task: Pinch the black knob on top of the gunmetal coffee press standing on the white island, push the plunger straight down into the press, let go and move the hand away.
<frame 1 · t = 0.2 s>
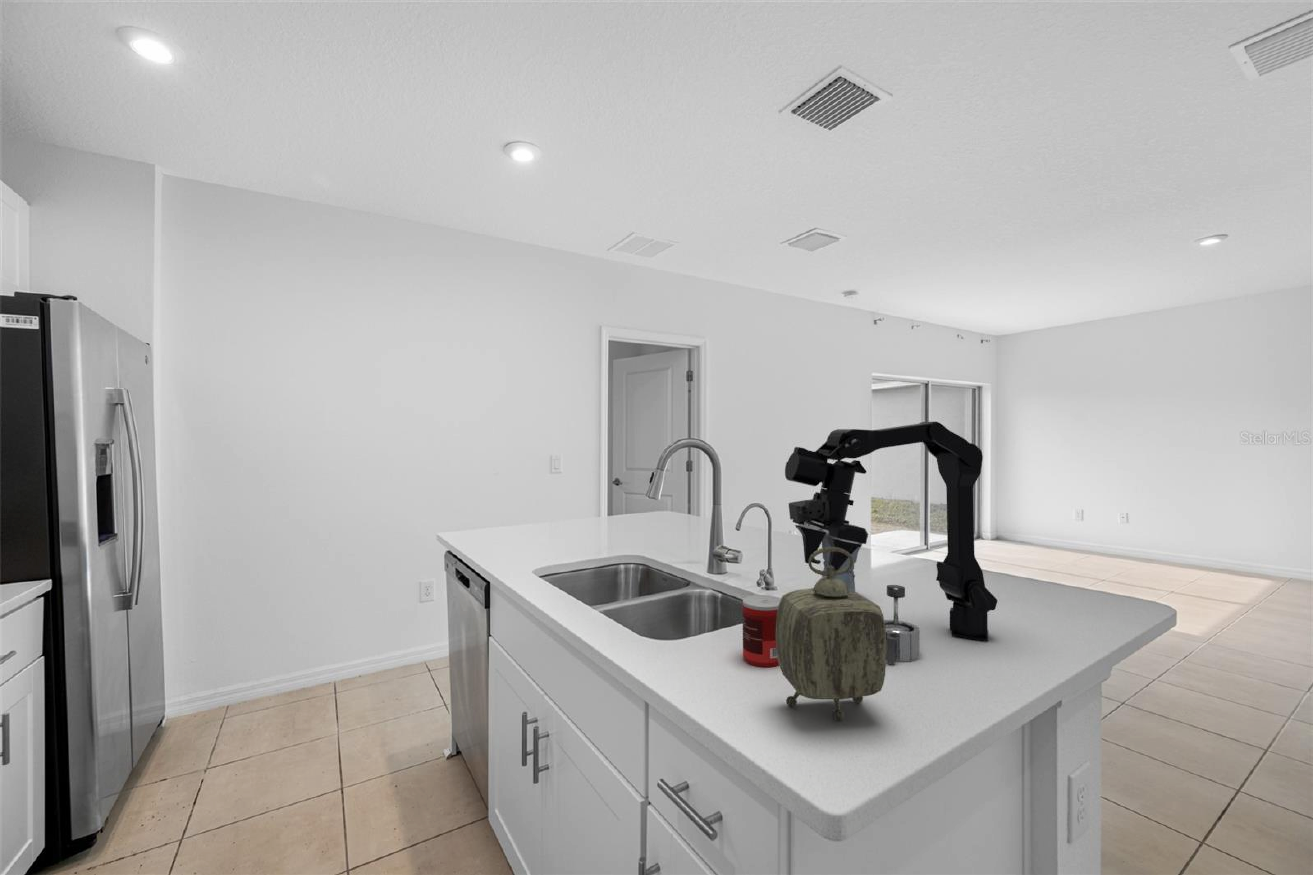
hand: (818, 568, 115), 15 cm above the worktop, tool pointing down, fingers open, 9 cm apart
tabletop clock: (832, 715, 87), on the worktop
press carafe: (895, 653, 111), on the worktop
moka pot: (835, 600, 146), on the worktop
plunger: (895, 609, 111), point 8 cm above the worktop, slide at 0.0 cm
canned food: (763, 660, 108), on the worktop
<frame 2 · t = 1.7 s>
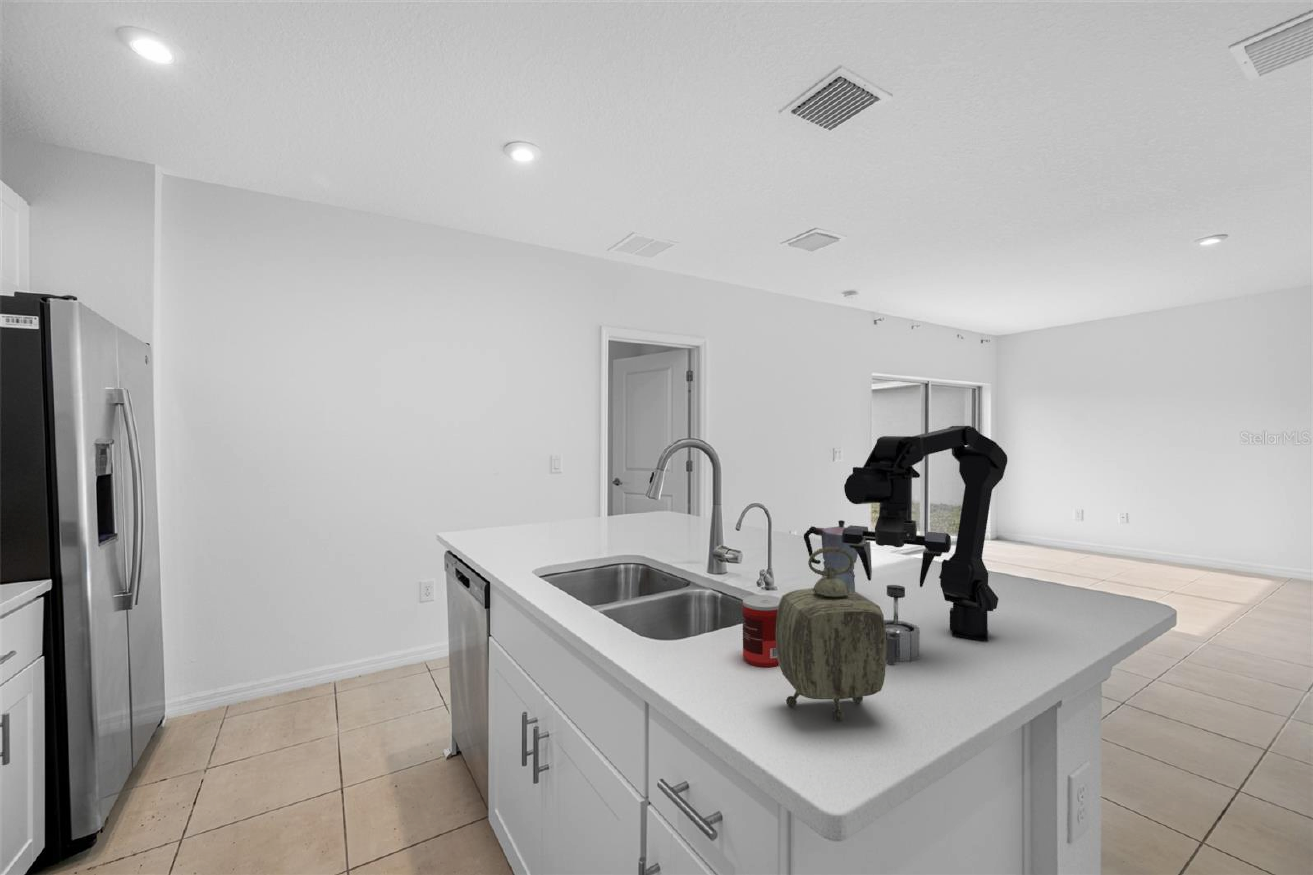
hand: (894, 583, 111), 13 cm above the worktop, tool pointing down, fingers open, 9 cm apart
nothing on the worktop moved.
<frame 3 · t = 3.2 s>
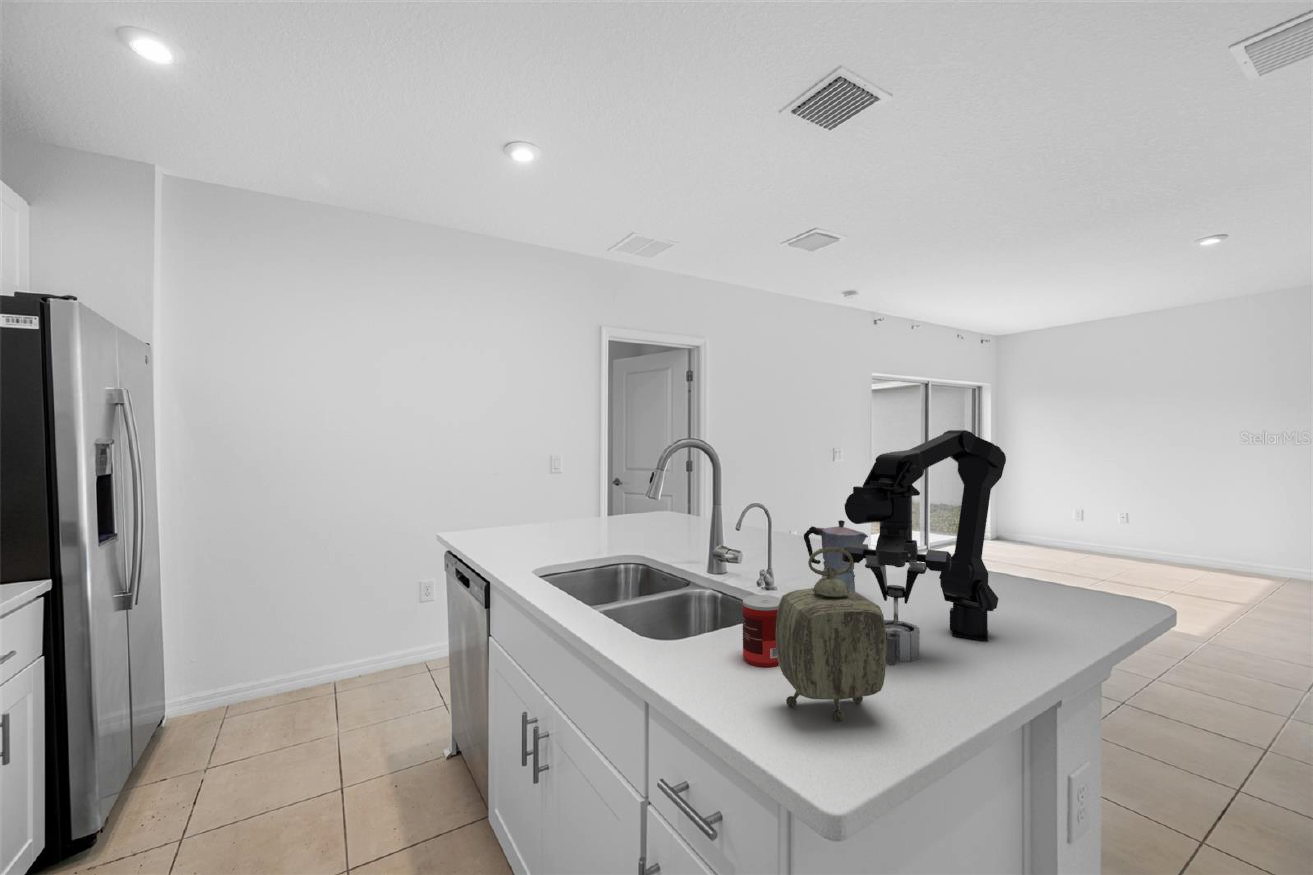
hand: (895, 601, 111), 10 cm above the worktop, tool pointing down, fingers closed on plunger, 3 cm apart
plunger: (895, 609, 111), point 8 cm above the worktop, slide at 0.0 cm, touching gripper
everything else where it was.
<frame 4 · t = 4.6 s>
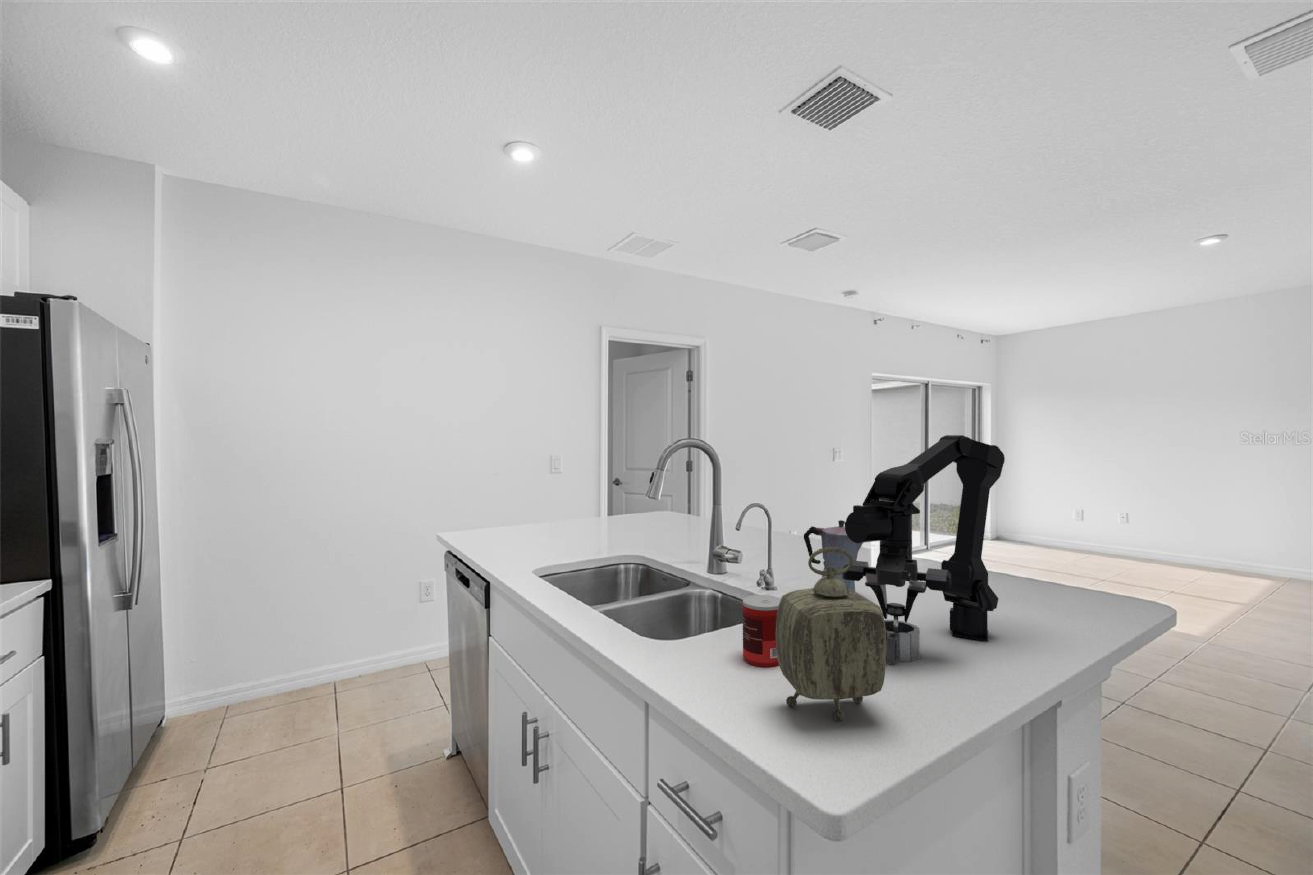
hand: (895, 620, 111), 6 cm above the worktop, tool pointing down, fingers closed on plunger, 3 cm apart
plunger: (895, 627, 111), point 5 cm above the worktop, slide at 3.5 cm, touching gripper
everything else where it was.
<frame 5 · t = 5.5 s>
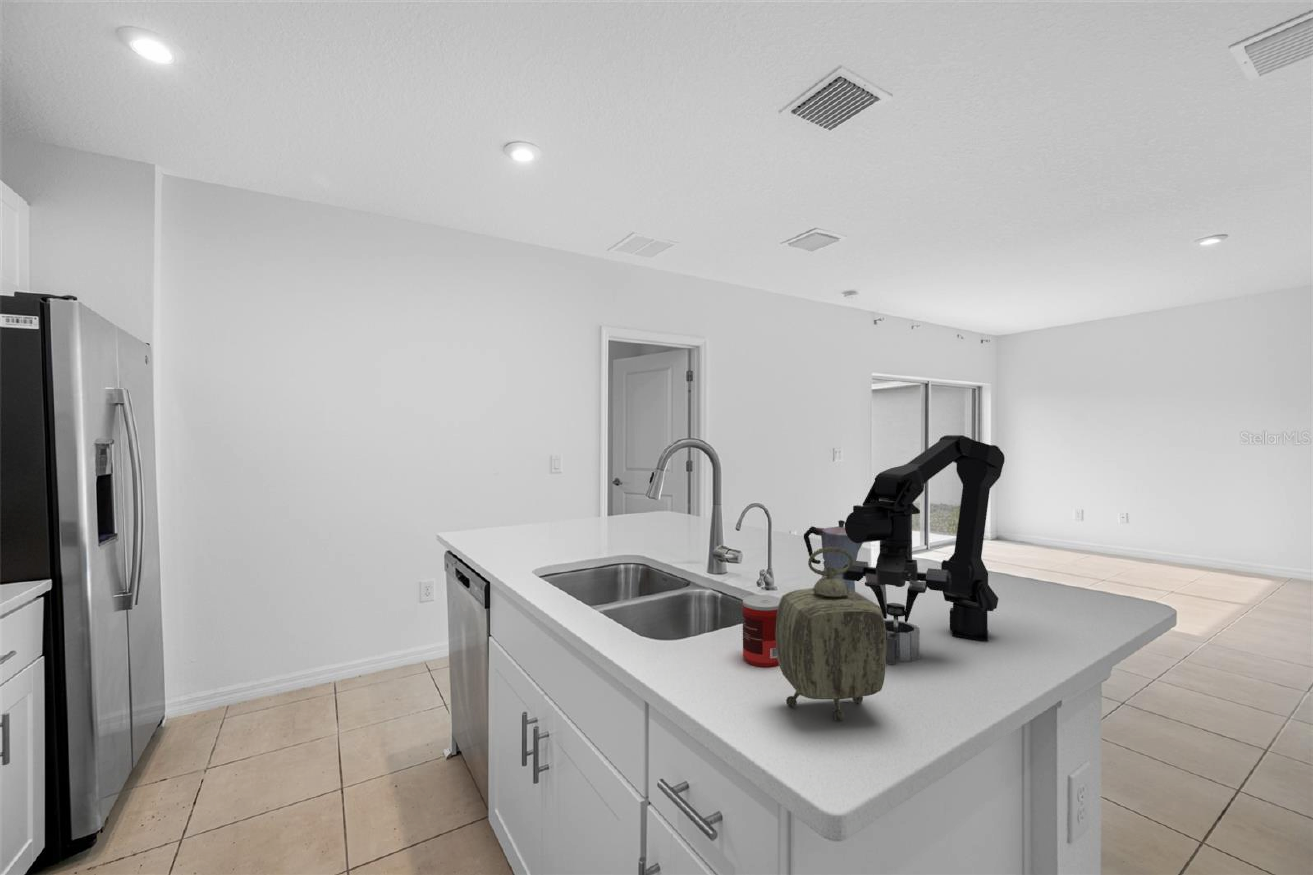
hand: (895, 620, 111), 6 cm above the worktop, tool pointing down, fingers open, 3 cm apart
plunger: (895, 627, 111), point 5 cm above the worktop, slide at 3.5 cm
everything else where it was.
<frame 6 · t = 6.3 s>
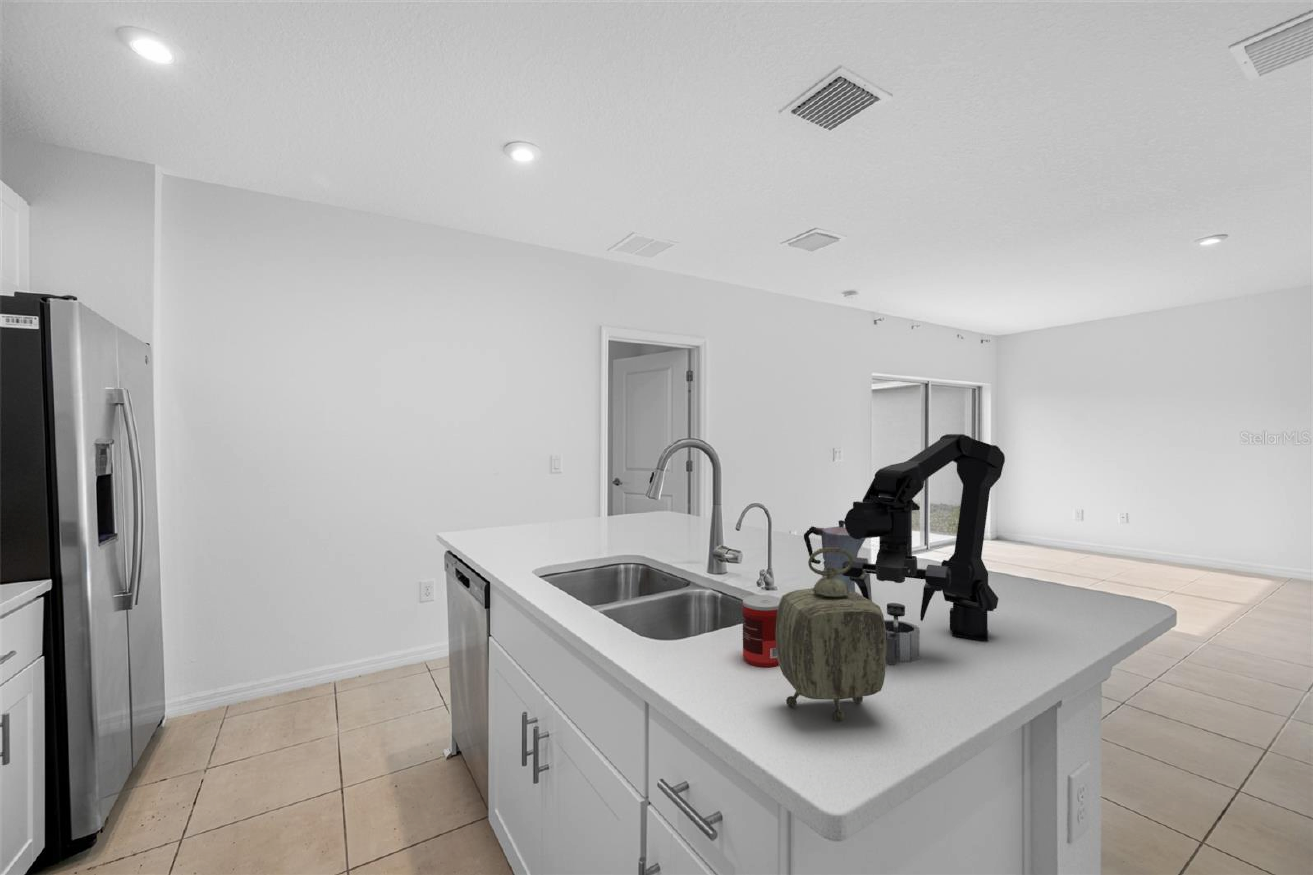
hand: (895, 616, 111), 7 cm above the worktop, tool pointing down, fingers open, 9 cm apart
nothing on the worktop moved.
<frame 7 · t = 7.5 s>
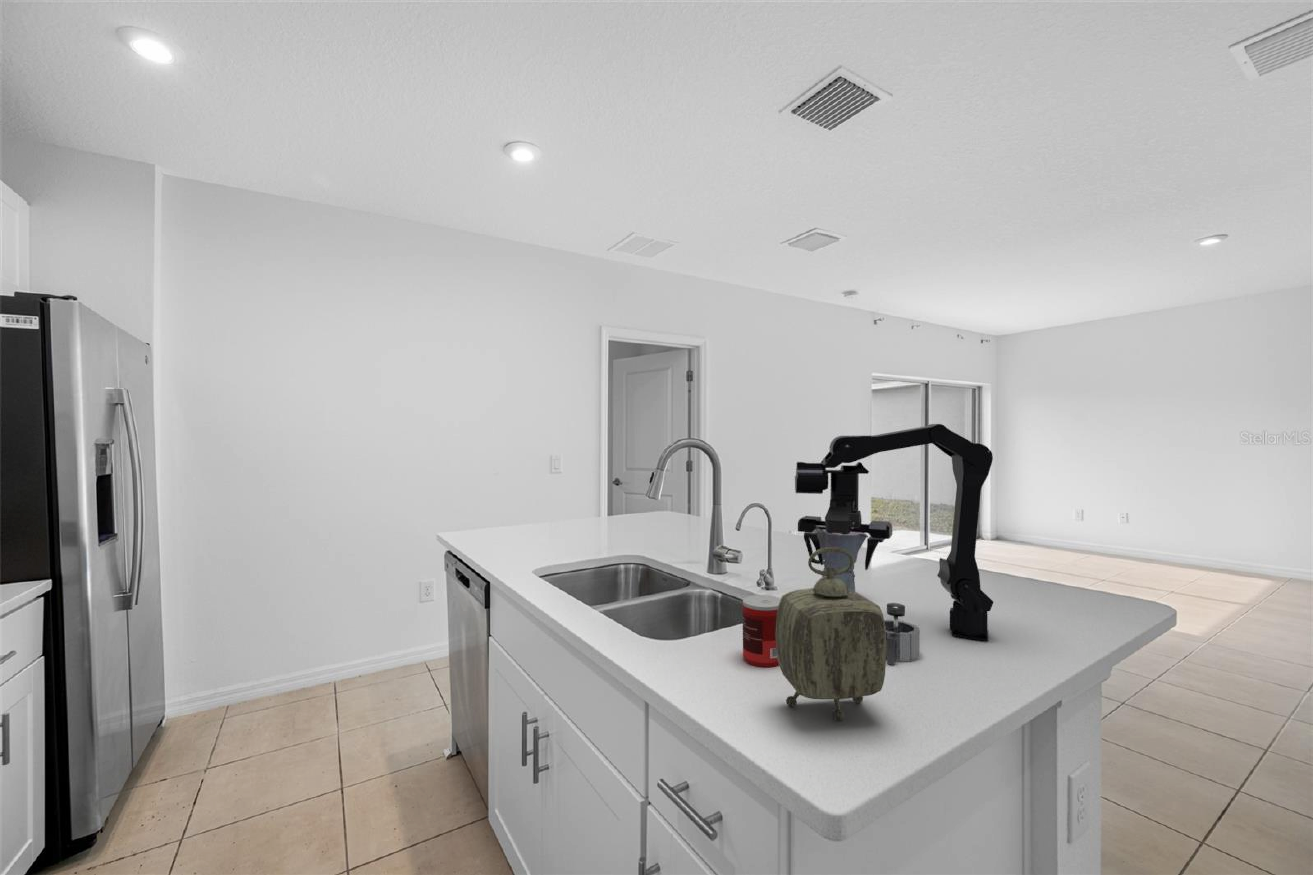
hand: (843, 567, 125), 13 cm above the worktop, tool pointing down, fingers open, 9 cm apart
nothing on the worktop moved.
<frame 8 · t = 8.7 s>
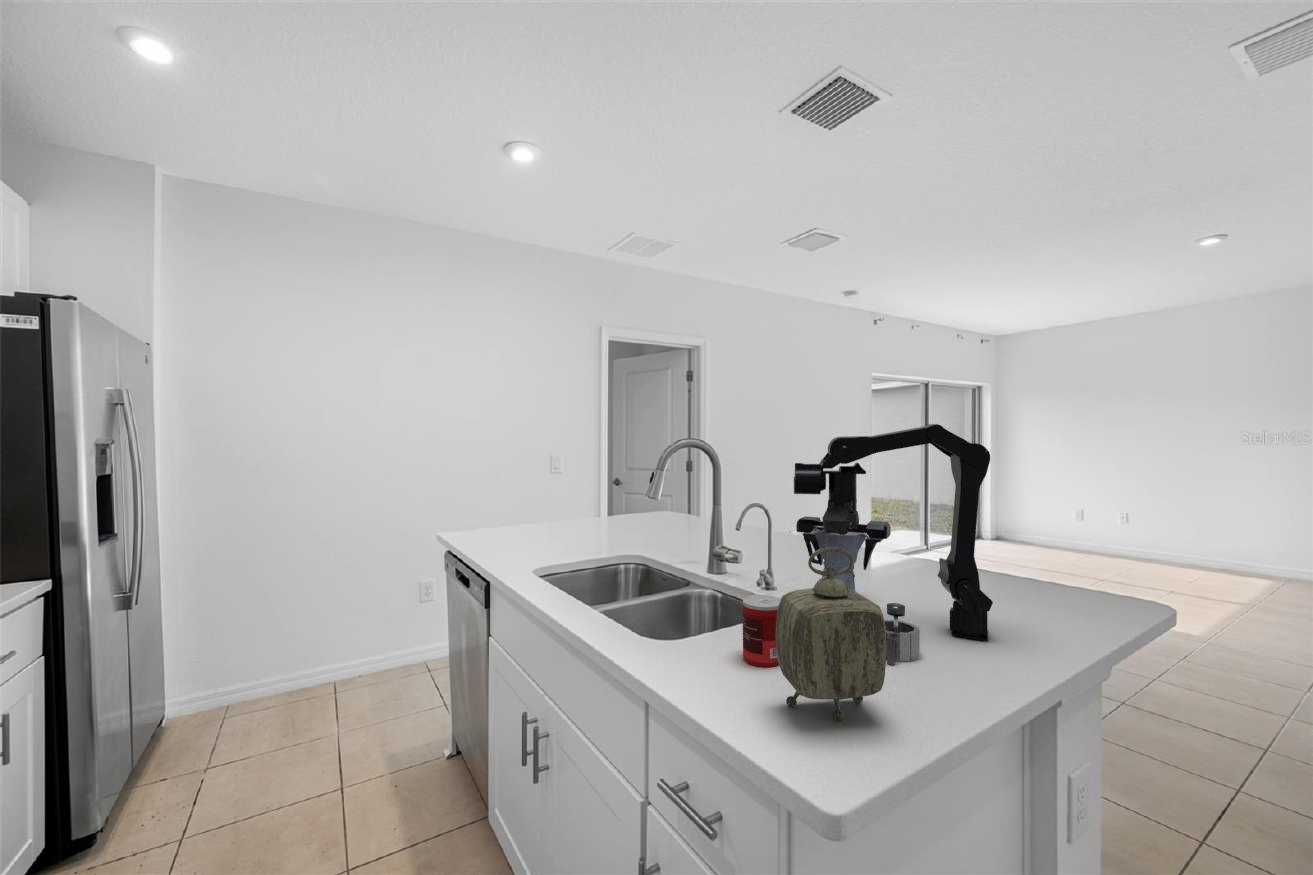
hand: (842, 567, 125), 13 cm above the worktop, tool pointing down, fingers open, 9 cm apart
nothing on the worktop moved.
at the end: plunger slide at 3.5 cm; the gripper is holding nothing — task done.
